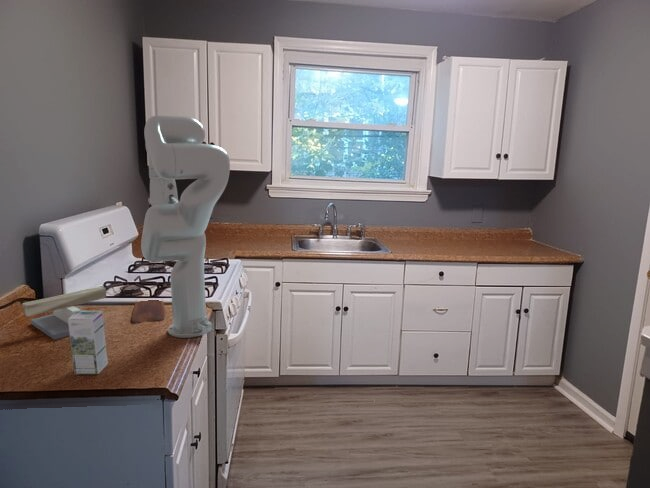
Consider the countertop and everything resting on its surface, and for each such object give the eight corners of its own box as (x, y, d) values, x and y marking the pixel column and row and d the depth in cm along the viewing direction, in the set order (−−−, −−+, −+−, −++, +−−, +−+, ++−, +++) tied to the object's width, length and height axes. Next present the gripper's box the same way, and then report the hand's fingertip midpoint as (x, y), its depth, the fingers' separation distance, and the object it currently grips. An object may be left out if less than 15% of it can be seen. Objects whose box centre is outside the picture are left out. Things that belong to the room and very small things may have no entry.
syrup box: (108, 363, 111) (103, 309, 108) (97, 375, 105) (91, 317, 102) (85, 364, 111) (79, 309, 108) (73, 375, 105) (66, 318, 102)
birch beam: (106, 297, 141) (105, 288, 140) (27, 316, 125) (26, 305, 124) (101, 295, 143) (101, 286, 142) (23, 313, 126) (22, 303, 126)
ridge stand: (104, 325, 135) (102, 305, 134) (54, 339, 125) (51, 318, 123) (79, 312, 147) (77, 293, 145) (31, 324, 136) (28, 304, 135)
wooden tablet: (165, 322, 140) (165, 317, 140) (131, 326, 137) (130, 321, 136) (164, 297, 165) (164, 292, 164) (135, 299, 161) (135, 295, 161)
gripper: (186, 174, 142) (189, 226, 145) (157, 172, 153) (161, 221, 156) (165, 175, 136) (169, 229, 140) (137, 173, 147) (140, 223, 150)
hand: (164, 225), depth 148 cm, fingers open, 9 cm apart
